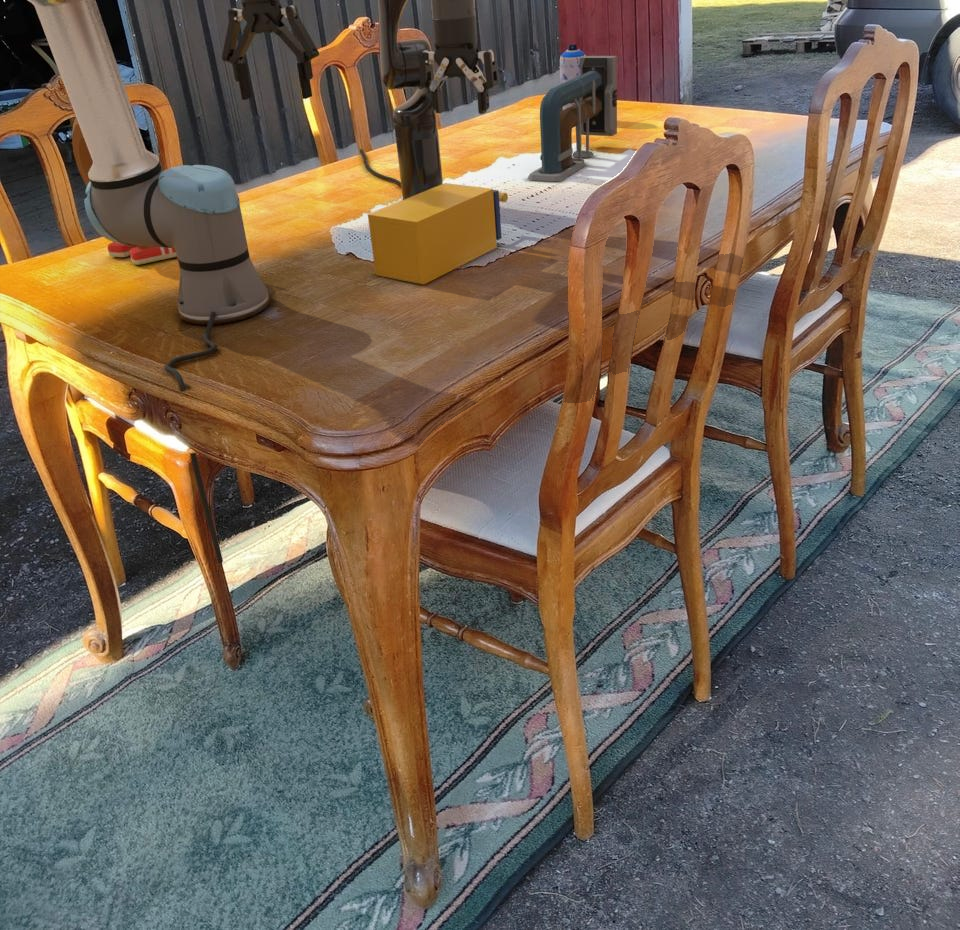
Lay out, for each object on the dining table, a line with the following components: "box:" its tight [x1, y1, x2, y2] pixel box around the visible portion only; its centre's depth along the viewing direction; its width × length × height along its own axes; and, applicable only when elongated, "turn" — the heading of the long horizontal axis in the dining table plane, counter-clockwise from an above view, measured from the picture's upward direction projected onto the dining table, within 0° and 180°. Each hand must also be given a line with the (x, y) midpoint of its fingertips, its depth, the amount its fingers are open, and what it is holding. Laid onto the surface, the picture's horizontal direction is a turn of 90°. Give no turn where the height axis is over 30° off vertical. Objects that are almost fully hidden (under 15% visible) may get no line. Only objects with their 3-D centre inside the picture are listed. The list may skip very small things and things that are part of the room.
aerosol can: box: [559, 43, 587, 110], centre depth 273 cm, size 8×8×20 cm
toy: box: [71, 105, 177, 266], centre depth 188 cm, size 21×10×30 cm, turn 47°
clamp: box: [527, 55, 618, 182], centre depth 230 cm, size 35×9×21 cm, turn 151°
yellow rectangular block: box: [367, 182, 498, 285], centre depth 177 cm, size 22×11×11 cm, turn 143°
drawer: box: [493, 189, 509, 241], centre depth 181 cm, size 27×10×9 cm, turn 143°
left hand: (277, 98), depth 192 cm, fingers open, 13 cm apart
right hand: (461, 112), depth 174 cm, fingers open, 8 cm apart
